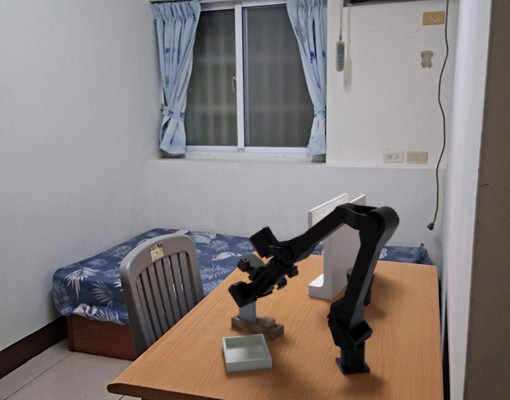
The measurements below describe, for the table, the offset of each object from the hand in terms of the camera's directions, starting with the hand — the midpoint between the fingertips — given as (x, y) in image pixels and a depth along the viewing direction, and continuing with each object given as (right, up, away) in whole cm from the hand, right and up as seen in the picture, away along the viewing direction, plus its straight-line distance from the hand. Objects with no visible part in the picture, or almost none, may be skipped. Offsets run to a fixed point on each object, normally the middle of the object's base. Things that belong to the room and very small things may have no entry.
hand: (243, 301), depth 132 cm
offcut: (+7, -6, -4) cm, 10 cm away
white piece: (+33, 0, +34) cm, 47 cm away
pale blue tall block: (+1, -7, 0) cm, 7 cm away
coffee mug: (+35, -4, +14) cm, 38 cm away
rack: (+3, -7, -2) cm, 8 cm away
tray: (+1, -10, -16) cm, 19 cm away
